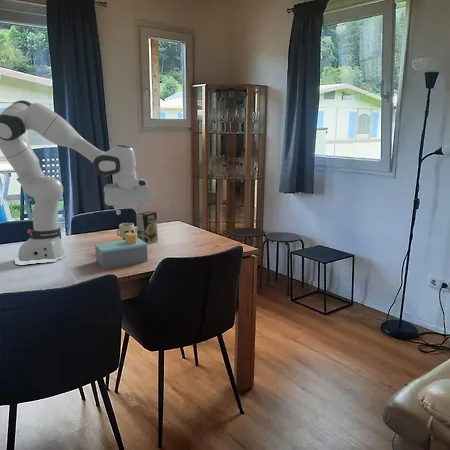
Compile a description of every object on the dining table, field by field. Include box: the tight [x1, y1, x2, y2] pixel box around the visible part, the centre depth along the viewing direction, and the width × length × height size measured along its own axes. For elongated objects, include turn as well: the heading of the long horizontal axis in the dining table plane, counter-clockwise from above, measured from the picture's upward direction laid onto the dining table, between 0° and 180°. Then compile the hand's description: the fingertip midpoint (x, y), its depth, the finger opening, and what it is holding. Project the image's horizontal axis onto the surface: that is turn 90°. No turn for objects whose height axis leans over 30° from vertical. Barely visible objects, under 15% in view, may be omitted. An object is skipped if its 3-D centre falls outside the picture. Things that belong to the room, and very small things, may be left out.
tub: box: [94, 245, 149, 270], centre depth 200 cm, size 20×12×8 cm, turn 120°
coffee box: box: [135, 210, 159, 246], centre depth 232 cm, size 9×6×16 cm
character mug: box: [116, 222, 137, 240], centre depth 220 cm, size 11×7×13 cm, turn 127°
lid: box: [94, 232, 148, 253], centre depth 199 cm, size 20×12×6 cm, turn 120°
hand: (128, 213), depth 198 cm, fingers open, 8 cm apart
